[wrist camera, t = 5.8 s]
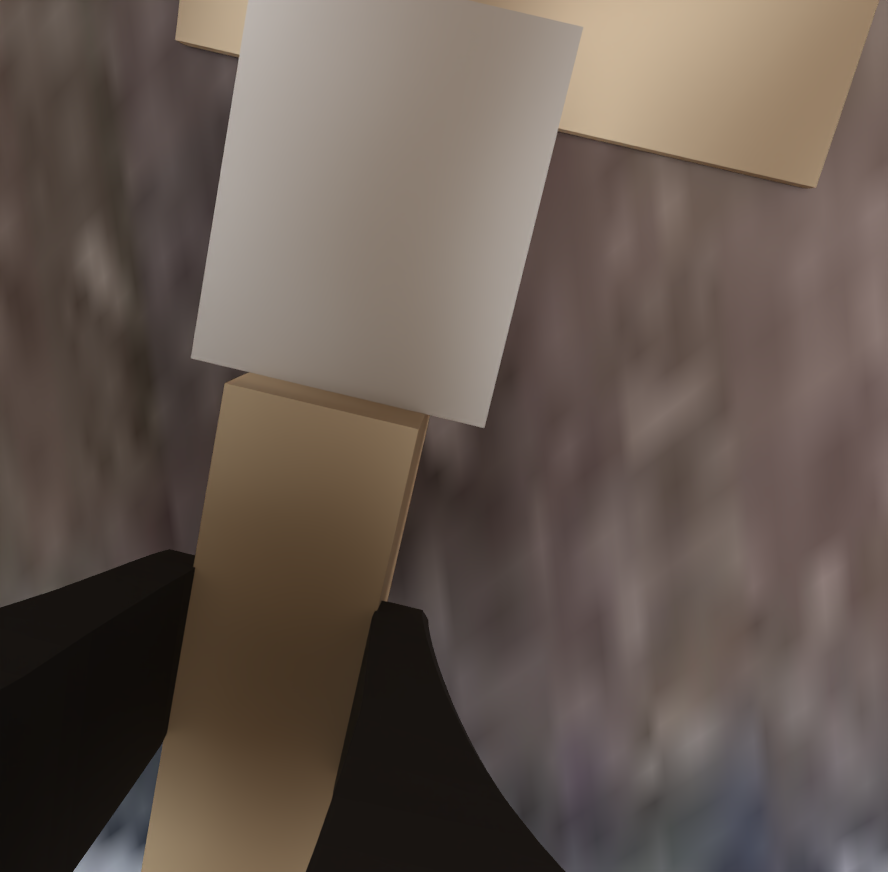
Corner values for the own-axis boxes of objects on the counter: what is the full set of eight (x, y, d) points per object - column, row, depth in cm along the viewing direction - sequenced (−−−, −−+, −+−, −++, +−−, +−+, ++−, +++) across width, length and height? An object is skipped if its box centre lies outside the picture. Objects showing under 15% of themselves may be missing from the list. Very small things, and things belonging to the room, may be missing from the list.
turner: (154, 827, 15) (68, 969, 12) (296, 4, 12) (229, -85, 9) (368, 879, 14) (336, 1034, 12) (567, 67, 11) (594, 0, 9)
